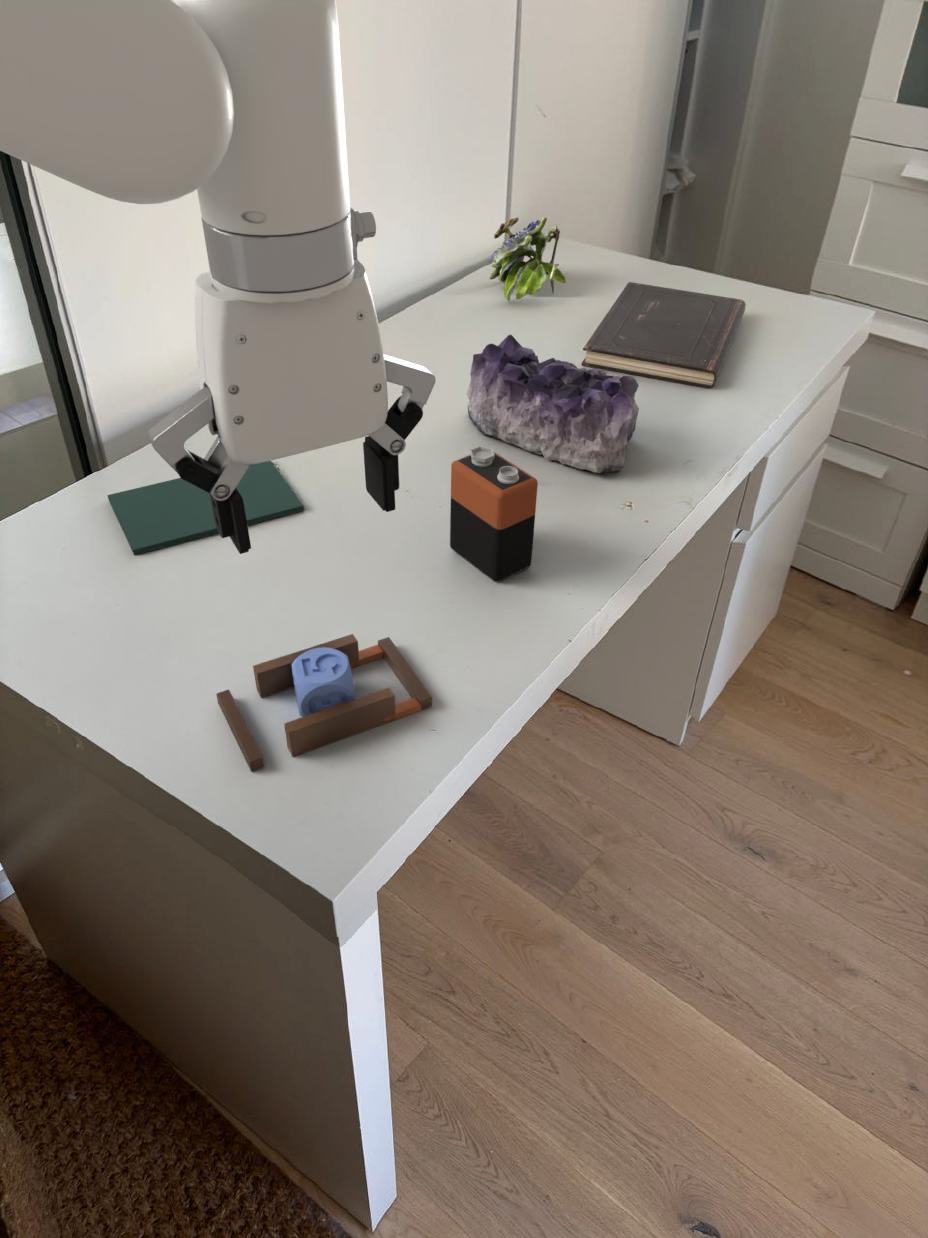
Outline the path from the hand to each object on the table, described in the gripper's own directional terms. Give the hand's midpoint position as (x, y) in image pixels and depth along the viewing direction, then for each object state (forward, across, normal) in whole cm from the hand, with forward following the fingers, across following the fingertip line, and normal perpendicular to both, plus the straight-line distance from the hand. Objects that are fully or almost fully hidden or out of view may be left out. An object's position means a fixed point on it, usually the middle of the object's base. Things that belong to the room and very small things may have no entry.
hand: (311, 520), depth 61 cm
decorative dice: (+16, 0, 0) cm, 17 cm away
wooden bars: (+16, 0, 0) cm, 16 cm away
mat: (+16, +1, -30) cm, 34 cm away
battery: (+17, -19, -10) cm, 28 cm away
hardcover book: (+17, -63, -41) cm, 77 cm away
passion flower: (+17, -55, -64) cm, 86 cm away
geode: (+17, -35, -26) cm, 47 cm away
